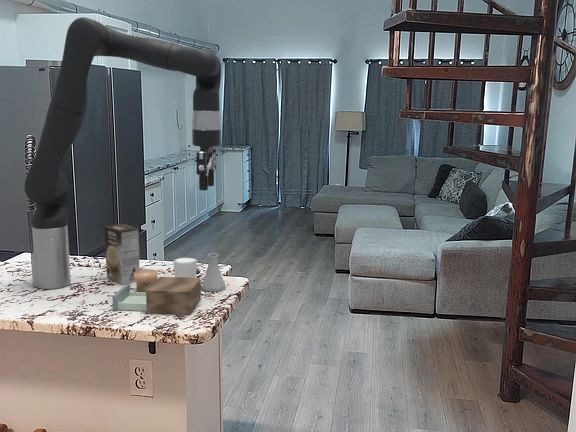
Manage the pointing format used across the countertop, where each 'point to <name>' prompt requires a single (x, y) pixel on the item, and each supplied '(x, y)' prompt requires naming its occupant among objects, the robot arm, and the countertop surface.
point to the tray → (129, 300)
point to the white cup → (185, 267)
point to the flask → (213, 275)
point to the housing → (173, 296)
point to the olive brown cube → (143, 286)
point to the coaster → (145, 276)
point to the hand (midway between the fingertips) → (206, 188)
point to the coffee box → (122, 253)
